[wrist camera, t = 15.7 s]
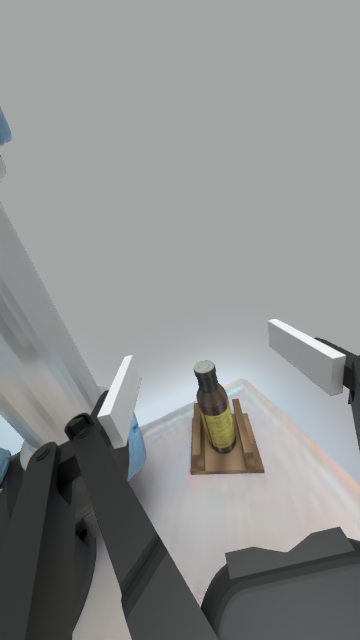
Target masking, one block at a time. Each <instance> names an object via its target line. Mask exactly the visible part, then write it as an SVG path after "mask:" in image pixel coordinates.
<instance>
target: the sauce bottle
mask: <svg viewBox="0 0 360 640" xmlns="http://www.w3.org/2000/svg"><path fill="white" fill-rule="evenodd" d="M194 372H195V376H196V377H197V379H198V385H199V389H198V392H197V401H198V404H199V410H200V413H201V416H202V420H203V423H204V427H205V430H206V433H207V437H208V439H209V442H210V444H211V446H212V447H213V448H214V450H216V451H217V452H221V453H226V452H229V451H230V450H231V449H233V448H234V446H235V444H236V432H235V428H234V423H233V419H232V414H231V410H230V406H229V401H228V397H227V394H226V392H225V390H224V388H223V387H222V386H221V385H220V384H219V383H218V380H217V376H216V373H215V372H216V369H215V365H214V363H213V362H211V361H201V362H199V363H197V364H196V365H195V366H194Z"/></svg>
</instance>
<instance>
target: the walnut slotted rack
mask: <svg viewBox="0 0 360 640" xmlns="http://www.w3.org/2000/svg"><path fill="white" fill-rule="evenodd" d="M232 402H233V407H234V413H235V414H233V415H232V419H233V423H234V428H235V432H236V444H235V446H234V448H233V449H231V450H230V451H229V452H226V453H221V452H217V451H216V450H214V448H213V447H212V446H211V444H210V442H209V439H208V437H207V433H206V430H205V427H204V423H203V420H202V416H201V413H200V410H199V404H198V403H194V418H193V419H192V445H191V471H190V472H191V474H192V475H193V474H233V473H264V468H263V464H262V461H261V458H260V454H259V451H258V448H257V445H256V441H255V438H254V435H253V431H252V428H251V425H250V422H249V418H248V415H247V413H245V414H242V410H241V407H240V403H239V399H232Z"/></svg>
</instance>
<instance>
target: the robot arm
mask: <svg viewBox="0 0 360 640" xmlns="http://www.w3.org/2000/svg"><path fill="white" fill-rule="evenodd" d="M11 139H12V136H11V131H10V128H9V126H8V123H7V121H6V119H5V117H4V115H3V112H2V110H1V108H0V145H3V144H4V143H5V142H9V141H10V140H11ZM5 173H6V167H5V165H4V162H3V160H2V158H1V156H0V182H1V180H2V178H3V177H4V175H5ZM268 331H269V344H270V347H271V348H272V349H274V350H275V351H276V352H277V353H279V354H280V355H281V356H282V357H283V358H285V359H286V360H287V361H288V362H289V363H291V364H292V365H293V366H294V367H296V368H297V369H298V370H299V371H301V372H302V373H303V374H304V375H305V376H306V377H308V378H309V379H310V380H312V381H313V382H314V383H315V384H316V385H317V386H319V387H320V388H321V389H322V390H324V391H325V392H326V393H327V394H328V395H330V396H333V395H337V394H341V393H343V385H344V386H345V387H347V388H349V389H350V391H349V400H348V404H351V407H352V412H353V417H354V423H355V428H356V434H357V439H358V444H359V450H360V356H356V355H354V354H352V353H350V352H348V351H346V350H344V349H342V348H340V347H337V346H336V345H334V344H332V343H330V342H328V341H326V340H323V339H320V338H312V337H310V336H308V335H306V334H304V333H302V332H300V331H298V330H296V329H294V328H293V327H291V326H289V325H287V324H285V323H283V322H281V321H279V320H277V319H273V320H269V321H268ZM141 379H142V378H141V375H140V373H139V370H138V368H137V365H136V363H135V360H134V358H133V355H130V356H127V357H125V358H124V360H123V362H122V364H121V367H120V368H119V371H118V373H117V375H116V377H115V379H114V381H113V384H112V386H111V388H110V389H108V388H105V387H98V386H97V385H96V383H95V381H94V379H93V377H92V375H91V373H90V371H89V369H88V367H87V366H86V364H85V362H84V360H83V358H82V356H81V354H80V352H79V350H78V349H77V347H76V345H75V343H74V341H73V339H72V337H71V335H70V333H69V331H68V330H67V328H66V326H65V324H64V322H63V320H62V318H61V316H60V314H59V313H58V311H57V309H56V307H55V305H54V303H53V301H52V299H51V298H50V295H49V294H48V292H47V290H46V288H45V286H44V284H43V282H42V280H41V279H40V277H39V275H38V273H37V271H36V269H35V267H34V265H33V263H32V262H31V260H30V258H29V256H28V254H27V252H26V250H25V248H24V246H23V244H22V242H21V241H20V239H19V237H18V235H17V233H16V231H15V229H14V227H13V225H12V224H11V222H10V220H9V218H8V216H7V214H6V212H5V210H4V208H3V207H2V205H1V203H0V414H1V415H2V416H3V417H4V418H5V420H7V422H8V423H9V424H10V425H11V426H12V427H13V428H14V429H15V430H16V431H17V432H18V433H19V434H20V435H21V436H22V437H23V438H24V439H25V440H24V442H23V445H22V448H21V451H20V452H19V453H17V454H15V455H13V456H11V453H10V451H9V450H4V449H3V448H0V640H72V631H73V629H74V627H75V625H76V623H77V620H78V618H79V616H80V613H81V611H82V608H83V606H84V603H85V600H86V597H87V594H88V591H89V588H90V584H91V580H92V576H93V571H94V565H95V557H96V541H95V535H94V531H93V529H92V527H91V525H90V524H89V522H88V521H87V520H86V519H85V518H84V517H85V516H86V515H88V514H89V513H90V512H91V511H92V510H94V512H95V515H96V518H97V521H98V524H99V527H100V530H101V533H102V536H103V539H104V541H105V544H106V547H107V550H108V553H109V556H110V559H111V562H112V565H113V568H114V571H115V574H116V577H117V580H118V583H119V586H120V589H121V593H122V599H121V603H122V608H123V612H124V615H125V619H126V622H127V625H128V628H129V632H130V635H131V638H132V640H360V541H357V540H354V539H350V538H347V537H346V535H345V534H344V532H343V531H342V529H341V528H340V527H336V528H332V529H328V530H323V531H319V532H315V533H311V534H310V535H309V536H307V537H306V538H305V539H304V540H303V541H301V542H300V543H299V544H298V545H297V546H295V547H294V548H293V549H292V550H290V551H289V552H279V551H273V550H268V549H262V548H257V547H250V548H246V549H241V550H237V551H233V552H228V553H225V556H226V561H227V564H226V565H225V566H223V567H222V568H221V569H220V570H219V571H218V573H217V574H216V575H215V577H214V578H213V580H212V581H211V583H210V585H209V587H208V589H207V591H206V594H205V596H204V599H203V602H202V605H201V608H200V606H199V605H198V603H197V601H196V599H195V598H194V596H193V594H192V593H191V591H190V589H189V587H188V586H187V584H186V582H185V580H184V579H183V577H182V575H181V573H180V572H179V570H178V568H177V566H176V565H175V563H174V561H173V560H172V558H171V556H170V554H169V553H168V551H167V549H166V547H165V546H164V544H163V542H162V541H161V539H160V537H159V535H158V534H157V532H156V530H155V529H154V527H153V525H152V523H151V522H150V520H149V518H148V516H147V515H146V513H145V511H144V509H143V508H142V506H141V504H140V502H139V501H138V499H137V497H136V496H135V494H134V492H133V490H132V489H131V487H130V485H129V483H128V482H129V481H130V479H131V478H132V477H133V476H134V475H135V474H136V473H137V472H138V471H139V470H141V469H142V467H143V466H144V464H145V461H146V449H145V444H144V440H143V437H142V434H141V431H140V428H139V427H138V422H137V419H136V416H135V413H134V409H135V405H136V401H137V396H138V392H139V388H140V383H141Z"/></svg>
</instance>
